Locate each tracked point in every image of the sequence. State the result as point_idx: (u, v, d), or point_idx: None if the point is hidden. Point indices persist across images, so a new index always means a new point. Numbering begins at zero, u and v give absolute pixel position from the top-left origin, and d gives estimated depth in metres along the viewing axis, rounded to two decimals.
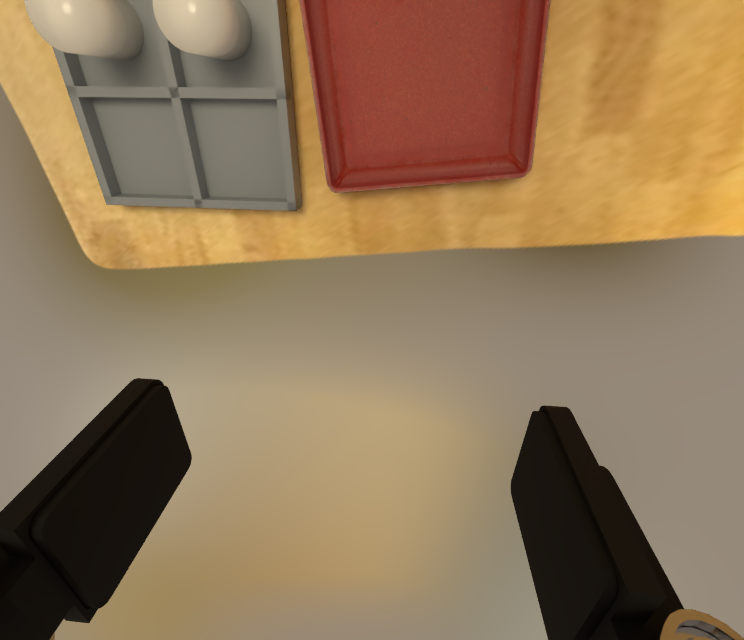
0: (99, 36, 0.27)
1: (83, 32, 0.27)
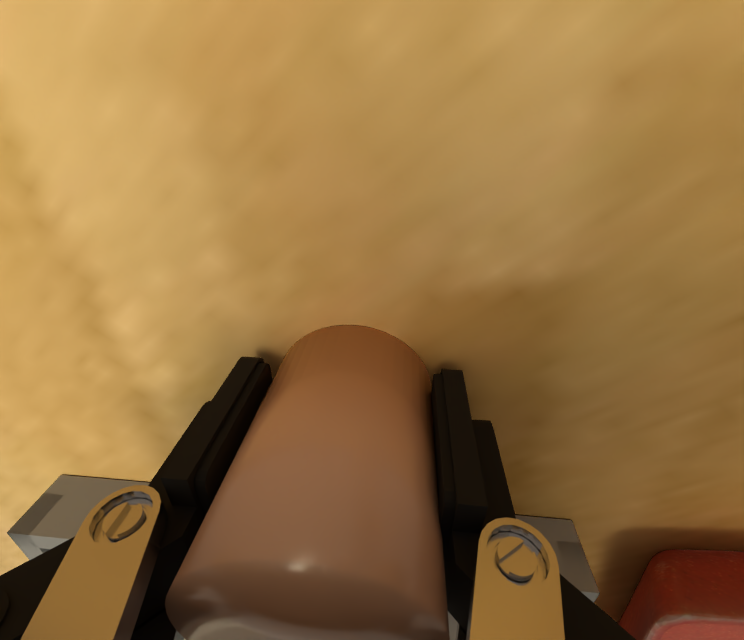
0: None
1: None
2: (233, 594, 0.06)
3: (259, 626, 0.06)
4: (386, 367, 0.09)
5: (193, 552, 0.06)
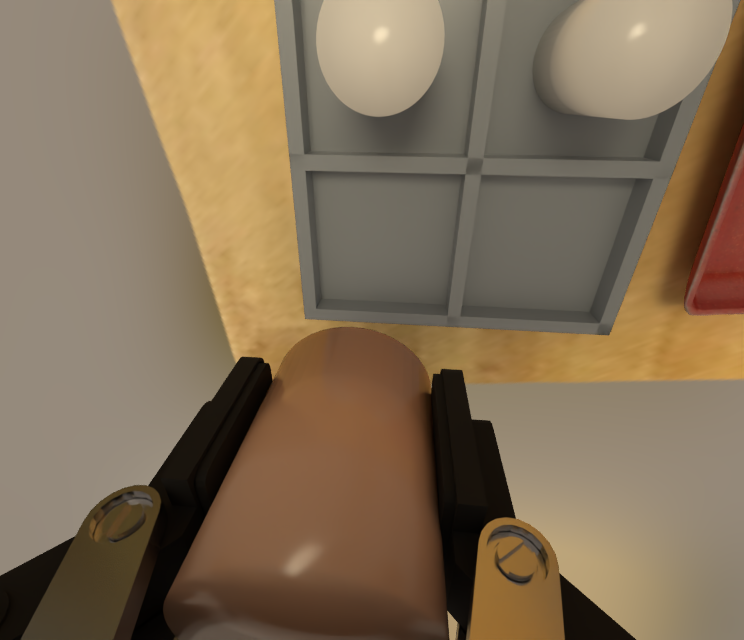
0: None
1: (417, 81, 0.14)
2: (231, 600, 0.06)
3: (258, 632, 0.06)
4: (386, 370, 0.09)
5: (191, 557, 0.06)
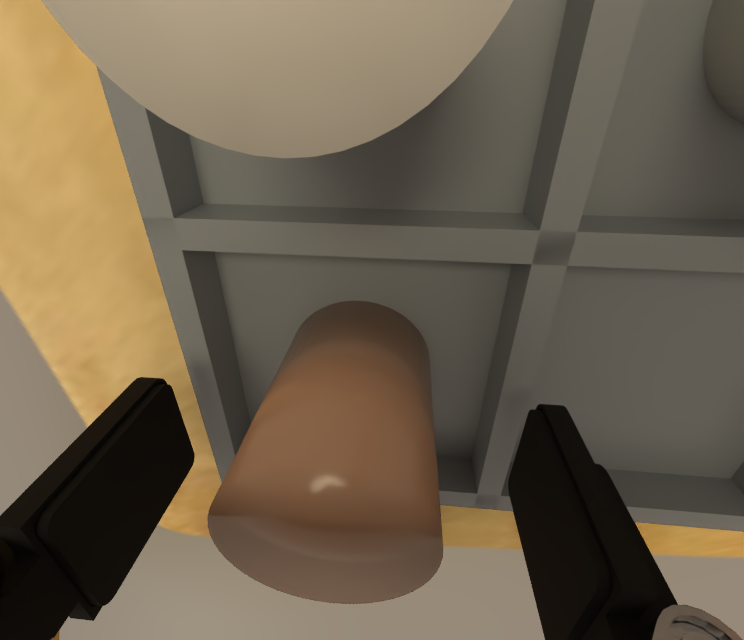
0: None
1: (437, 8, 0.03)
2: (266, 503, 0.07)
3: (286, 536, 0.07)
4: (389, 334, 0.10)
5: (232, 471, 0.07)
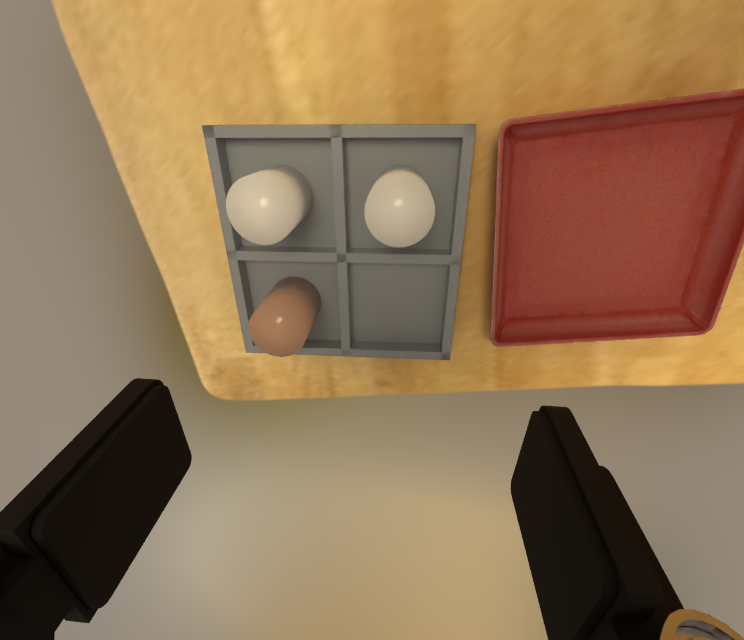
0: (293, 226, 0.26)
1: (282, 228, 0.25)
2: (262, 318, 0.29)
3: (267, 329, 0.29)
4: (301, 285, 0.32)
5: None
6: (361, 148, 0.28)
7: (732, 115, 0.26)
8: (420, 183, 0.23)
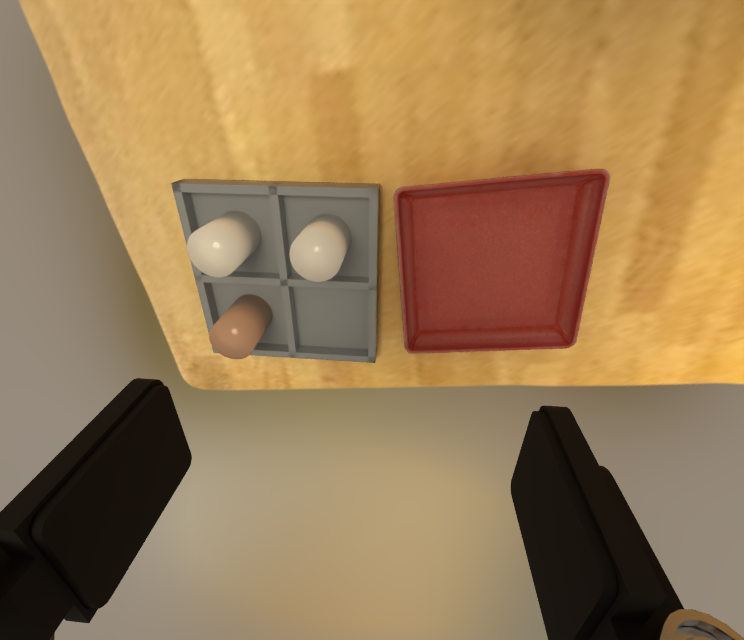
0: (239, 263, 0.35)
1: (230, 266, 0.34)
2: (219, 330, 0.38)
3: (224, 338, 0.38)
4: (254, 302, 0.41)
5: (213, 325, 0.38)
6: (295, 200, 0.36)
7: (574, 185, 0.34)
8: (328, 237, 0.32)
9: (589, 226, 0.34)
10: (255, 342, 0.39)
